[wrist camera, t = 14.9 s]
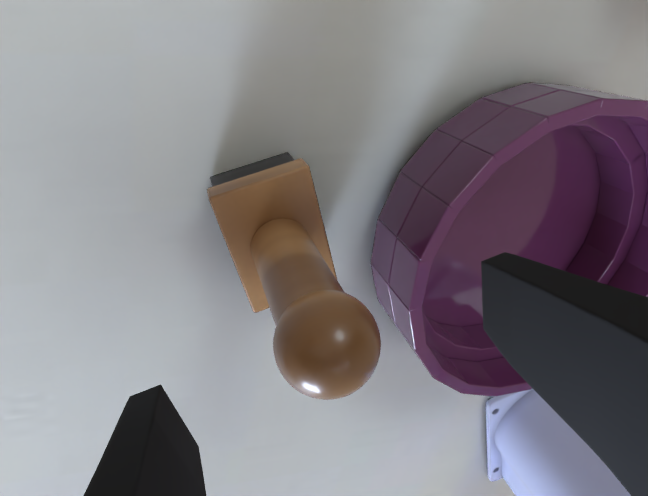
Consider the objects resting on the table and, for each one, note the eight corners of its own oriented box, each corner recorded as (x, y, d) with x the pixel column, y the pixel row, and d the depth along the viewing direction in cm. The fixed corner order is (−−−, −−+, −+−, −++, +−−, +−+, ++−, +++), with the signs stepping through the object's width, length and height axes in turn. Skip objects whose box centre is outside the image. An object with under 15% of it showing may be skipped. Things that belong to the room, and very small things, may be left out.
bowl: (595, 286, 27) (663, 331, 24) (388, 372, 25) (427, 436, 22) (630, 44, 20) (738, 52, 16) (341, 136, 18) (388, 170, 14)
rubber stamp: (319, 253, 20) (423, 419, 12) (244, 280, 20) (299, 473, 11) (291, 145, 17) (401, 266, 9) (203, 173, 17) (236, 329, 9)
